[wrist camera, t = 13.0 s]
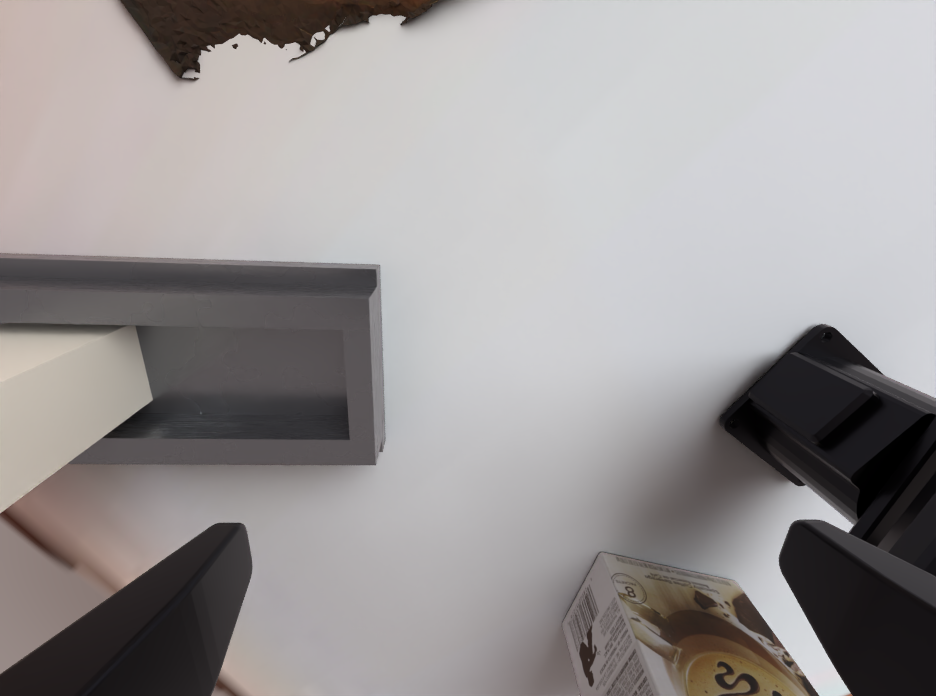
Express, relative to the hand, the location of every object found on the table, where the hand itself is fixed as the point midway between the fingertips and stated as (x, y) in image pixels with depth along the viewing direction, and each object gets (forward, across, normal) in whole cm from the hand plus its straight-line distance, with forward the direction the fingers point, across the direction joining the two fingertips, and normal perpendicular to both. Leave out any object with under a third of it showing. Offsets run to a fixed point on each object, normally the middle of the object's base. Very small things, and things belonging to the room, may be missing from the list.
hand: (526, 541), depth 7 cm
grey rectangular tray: (+13, +12, +2) cm, 18 cm away
